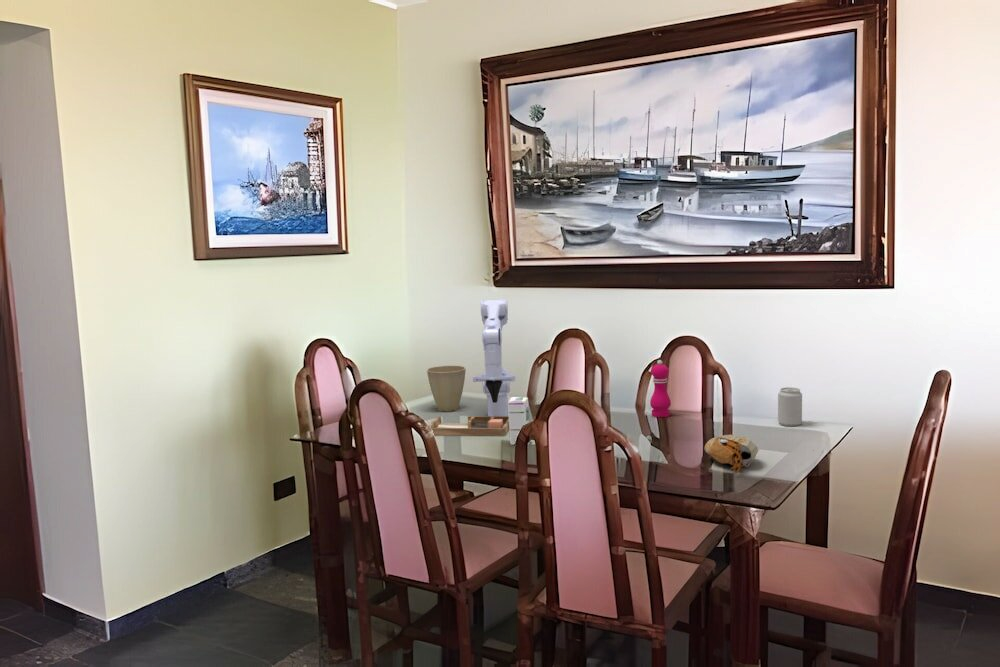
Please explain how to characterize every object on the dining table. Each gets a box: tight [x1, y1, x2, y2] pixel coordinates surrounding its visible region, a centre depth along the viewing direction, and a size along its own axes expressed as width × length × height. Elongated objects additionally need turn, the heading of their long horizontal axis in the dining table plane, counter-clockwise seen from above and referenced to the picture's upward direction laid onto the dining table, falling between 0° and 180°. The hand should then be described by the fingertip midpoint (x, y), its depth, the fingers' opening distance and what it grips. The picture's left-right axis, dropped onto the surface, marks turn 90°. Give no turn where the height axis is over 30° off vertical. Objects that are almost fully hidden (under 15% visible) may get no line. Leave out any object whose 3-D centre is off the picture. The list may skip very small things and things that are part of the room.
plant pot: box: [426, 365, 466, 412], centre depth 309 cm, size 15×15×16 cm
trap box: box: [428, 415, 509, 437], centre depth 277 cm, size 17×27×3 cm, turn 80°
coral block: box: [489, 419, 503, 428], centre depth 271 cm, size 4×4×4 cm
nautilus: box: [704, 434, 759, 475], centre depth 226 cm, size 8×22×15 cm
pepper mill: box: [649, 359, 672, 418], centre depth 285 cm, size 7×7×20 cm
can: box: [777, 386, 803, 427], centre depth 267 cm, size 8×8×12 cm
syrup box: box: [508, 396, 530, 446], centre depth 259 cm, size 6×6×14 cm
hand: (495, 402), depth 277 cm, fingers closed
